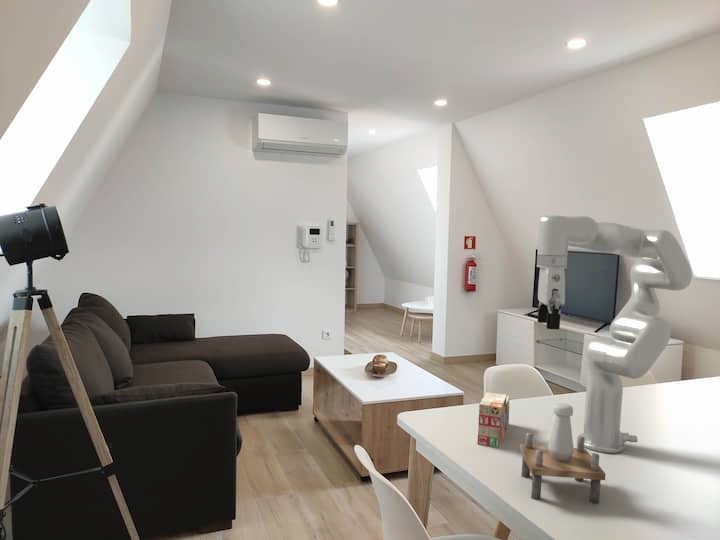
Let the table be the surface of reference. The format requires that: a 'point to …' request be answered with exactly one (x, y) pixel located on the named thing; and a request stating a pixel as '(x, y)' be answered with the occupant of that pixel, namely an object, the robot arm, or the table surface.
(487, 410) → the stack of blocks
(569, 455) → the salt shaker
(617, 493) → the table surface
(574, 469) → the shelf
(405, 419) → the table surface
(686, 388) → the table surface
